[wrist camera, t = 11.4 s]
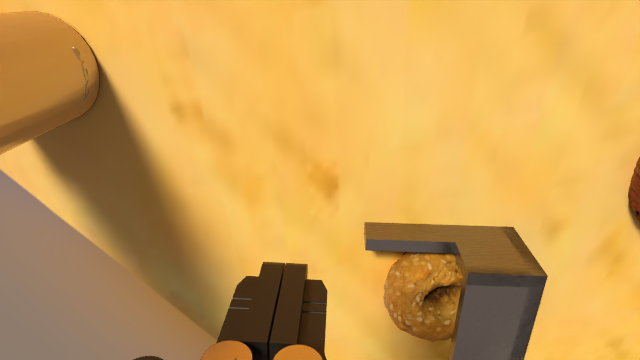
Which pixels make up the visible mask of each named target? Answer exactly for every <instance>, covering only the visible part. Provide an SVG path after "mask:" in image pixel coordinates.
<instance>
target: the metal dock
mask: <svg viewBox="0 0 640 360" xmlns="http://www.w3.org/2000/svg"><path fill="white" fill-rule="evenodd" d="M364 238H365V250H373V251H401V252H429V253H453V254H454V256H455V258H456V261H457V263H458V266H459V268H460V271H461V273H462V276H463V281H462V287H461V292H460V298H459V303H458V309H457V314H456V320H455V325H454V330H453V336H452V341H451V347H450V352H449V358H448V360H524V357H525V353H526V350H527V346H528V343H529V339H530V336H531V332H532V329H533V325H534V322H535V318H536V315H537V311H538V308H539V304H540V301H541V297H542V294H543V290H544V287H545V283H546V280H547V275H546V273H545V272H544V270H543V269H542V267H541V266H540V265H539V263H538V262H537V260H536V259H535V257H534V256H533V255H532V253H531V252H530V250H529V249H528V247H527V246H526V245H525V243H524V242H523V240H522V239H521V238H520V236H519V235H518V233H517V232H516V230H515V229H514V228H513V227H490V226H460V225H429V224H399V223H368V222H365V227H364Z"/></svg>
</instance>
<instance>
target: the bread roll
mask: <svg viewBox="0 0 640 360" xmlns="http://www.w3.org/2000/svg"><path fill="white" fill-rule="evenodd" d="M629 198H630V205H631V207H632V209H633V210H634V212H635V214H636V216H637V218H638V220H639V221H640V158H639V159H638V161H637V164H636V167H635V169H634V174H633V176H632V179H631V184H630V188H629Z"/></svg>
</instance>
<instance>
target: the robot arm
mask: <svg viewBox="0 0 640 360" xmlns="http://www.w3.org/2000/svg"><path fill="white" fill-rule="evenodd" d="M99 82H100V80H99V70H98V67H97V63H96V60H95V57H94V55H93V54H92V52H91V50H90V48H89V46H88V45H87V43H86V42H85V41H84V39H83V38H82V37H81V36H80V35H79V34H78V33H77V32H76V31H75V30H74V29H73V28H72V27H71V26H69V25H68V24H66V23H65V22H64V21H62V20H61V19H58V18H56V17H54V16H52V15H49V14H46V13H41V12H37V11H24V12H11V13H0V155H1V154H3V153H5V152H7V151H9V150H11V149H13V148H15V147H17V146H19V145H21V144H23V143H25V142H27V141H29V140H32V139H34V138H36V137H38V136H40V135H42V134H44V133H46V132H48V131H50V130H52V129H55V128H57V127H59V126H61V125H63V124H65V123H67V122H69V121H71V120H73V119H75V118H77V117H79V116H81V115H83V114H84V113H85V112H86V111H88V110H89V109H90V108H91V106H92V105H93V103H94V102H95V100H96V97H97V94H98V92H99ZM326 307H327V289H326V287H325V286H324V284H323V282H322V280H309V279H307V264H294V263H286V265H285V263H275V262H263V264H262V267H261V271H260V274H259V277H255V276H246V277H245V278H244V279H243V280H242V281H241V282H240V283H239V284H238V285H237V287H236V290H235V293H234V295H233V299H232V301H231V304H230V308H229V309H228V312H227V315H226V318H225V321H224V323H223V326H222V329H221V332H220V335H219V337H218V340H217V343H216V344H215V345H213V346H211V347H210V348H209V349H208V350H206V352H205V353H204V354H203V356H202V358H201V360H327V359H326V357H325V353H324V347H325V328H326ZM134 360H163V359H161V358H159V357H155V356H145V357H140V358H137V359H134Z"/></svg>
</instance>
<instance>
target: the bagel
mask: <svg viewBox="0 0 640 360" xmlns="http://www.w3.org/2000/svg"><path fill="white" fill-rule="evenodd" d="M462 281H463V276H462V273H461V271H460V268H459V266H458V263H457V261H456V258H455V256H454V254H453V253H429V252H408V253H406V254H405V255H404V256H403V257H402V258H400V259H399V260H398V261H397V262H396V263H395V264H393V265H392V266H391V268H390V271H389V273H388V276H387V279H386V282H385V285H384V289H385V294H384V304H385V307H386V308H387V309H388V312H389V315H390V317H391V319H392V320H393V321H394V323H395V324H396V325H397V327H398V328H399V329H400V330H403V331H406V332H407V333H409V334H411V335H413V336H417V337H419V338H421V339H426V340H429V341H435V340H445V339H448V338H449V337H451V336H453V330H454V325H455V320H456V314H457V309H458V303H459V298H460V292H461V287H462ZM441 286H442V287H441ZM437 287H441V289H440V291H437V292H435V291H432V290H434V289H435V288H437ZM431 291H432V292H431Z"/></svg>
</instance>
